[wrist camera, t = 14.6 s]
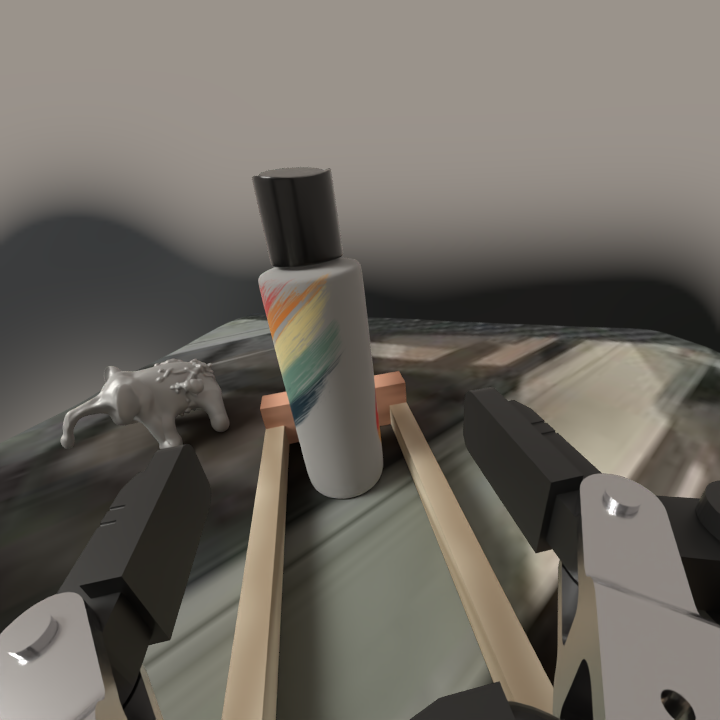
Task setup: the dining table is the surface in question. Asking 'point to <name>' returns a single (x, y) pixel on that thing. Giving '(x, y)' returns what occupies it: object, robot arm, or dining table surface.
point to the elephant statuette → (154, 399)
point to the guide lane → (455, 537)
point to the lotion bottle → (320, 330)
